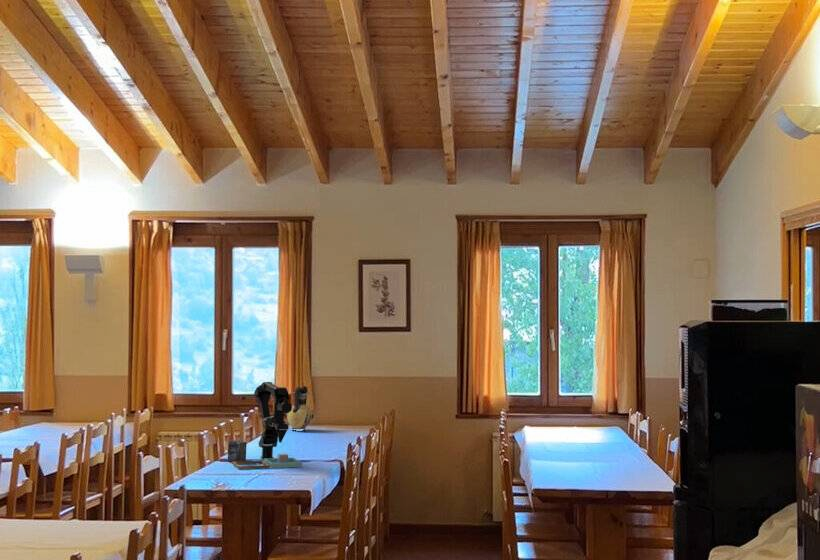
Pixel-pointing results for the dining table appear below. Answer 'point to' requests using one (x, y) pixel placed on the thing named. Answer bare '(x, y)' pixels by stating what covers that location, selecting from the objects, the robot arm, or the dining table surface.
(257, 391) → the robot arm
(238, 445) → the box
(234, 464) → the corral
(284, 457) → the slate block
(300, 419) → the amphora
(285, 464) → the bin
